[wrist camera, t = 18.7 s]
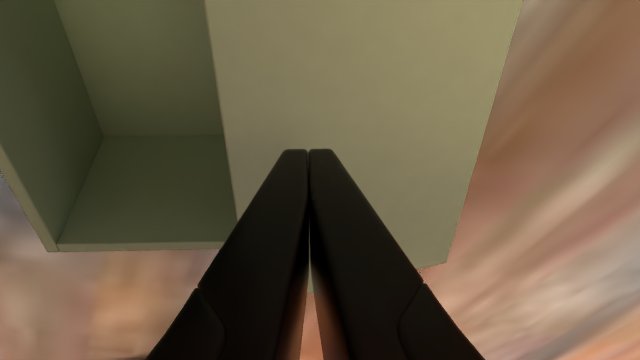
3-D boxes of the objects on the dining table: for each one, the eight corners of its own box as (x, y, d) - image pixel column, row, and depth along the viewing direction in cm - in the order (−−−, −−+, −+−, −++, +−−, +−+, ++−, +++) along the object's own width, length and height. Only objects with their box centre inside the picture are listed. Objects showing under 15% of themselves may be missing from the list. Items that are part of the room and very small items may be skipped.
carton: (-85, -357, 11) (-324, -390, 7) (495, -349, 11) (612, -376, 7) (99, 137, 21) (47, 252, 16) (413, 133, 21) (442, 245, 17)
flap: (142, -396, 6) (141, -400, 5) (616, -374, 7) (634, -376, 7) (249, 297, 15) (251, 307, 15) (442, 254, 16) (446, 262, 16)
